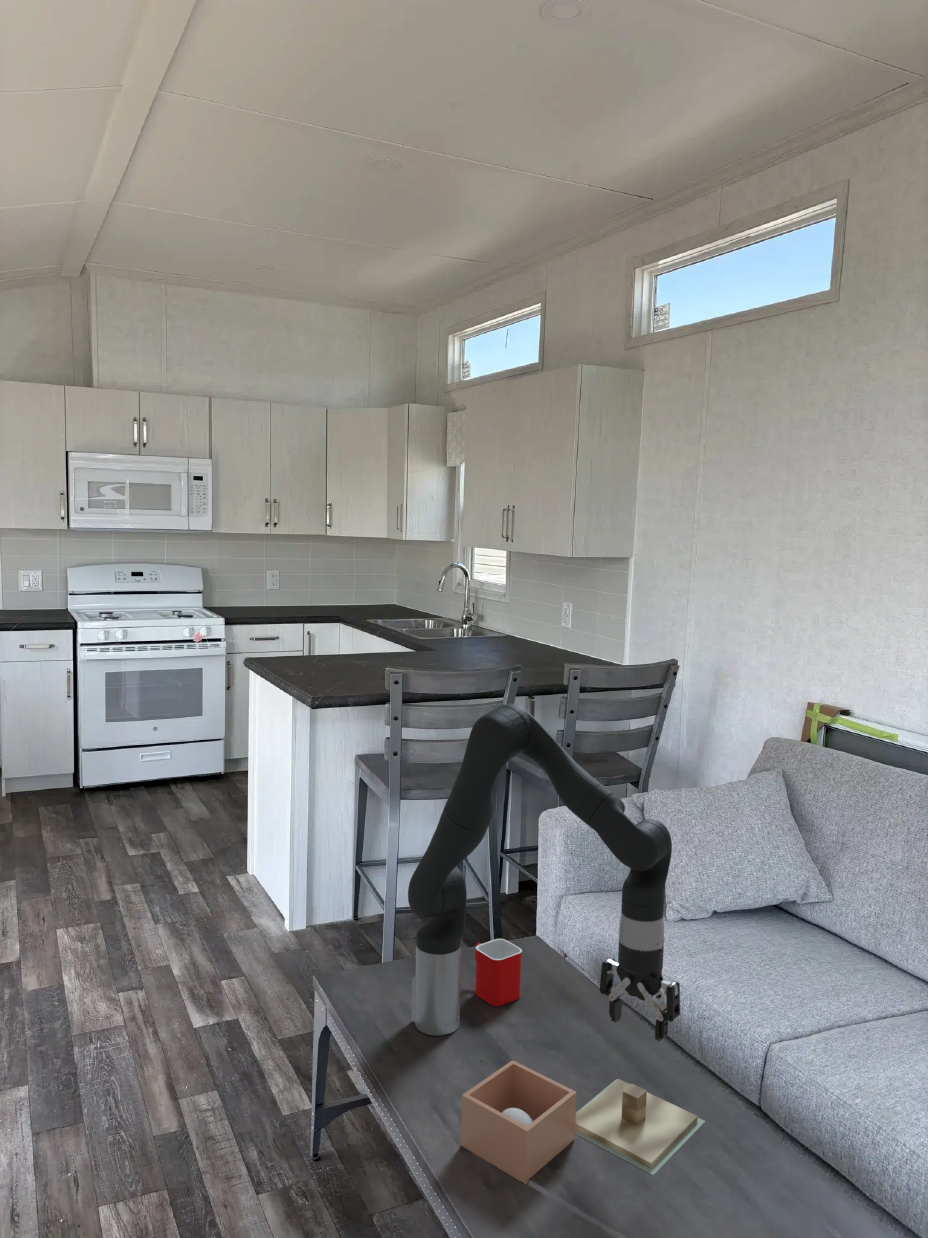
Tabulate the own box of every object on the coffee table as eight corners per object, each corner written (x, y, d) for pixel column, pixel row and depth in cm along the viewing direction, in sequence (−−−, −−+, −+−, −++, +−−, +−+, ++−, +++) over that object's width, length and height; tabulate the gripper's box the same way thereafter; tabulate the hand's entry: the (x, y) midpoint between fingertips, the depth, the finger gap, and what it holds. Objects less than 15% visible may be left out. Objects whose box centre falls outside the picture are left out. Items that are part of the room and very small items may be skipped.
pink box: (461, 1145, 156) (462, 1095, 155) (511, 1107, 167) (512, 1060, 166) (526, 1184, 147) (527, 1131, 146) (574, 1142, 158) (576, 1092, 157)
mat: (560, 1129, 161) (560, 1125, 161) (616, 1082, 175) (616, 1079, 174) (653, 1178, 149) (653, 1175, 149) (705, 1124, 163) (705, 1121, 163)
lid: (568, 1125, 161) (569, 1092, 160) (618, 1084, 173) (619, 1053, 172) (650, 1169, 151) (652, 1134, 150) (697, 1121, 163) (698, 1089, 162)
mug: (524, 997, 205) (525, 951, 203) (495, 1009, 200) (496, 961, 198) (489, 975, 214) (490, 931, 213) (461, 986, 209) (461, 940, 208)
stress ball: (537, 1172, 155) (557, 1134, 156) (505, 1160, 151) (526, 1122, 152) (512, 1143, 162) (532, 1108, 163) (481, 1132, 158) (501, 1095, 159)
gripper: (593, 933, 160) (590, 1023, 162) (668, 960, 151) (664, 1055, 153) (616, 919, 166) (613, 1006, 167) (690, 944, 157) (686, 1036, 158)
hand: (637, 1029), depth 160 cm, fingers open, 8 cm apart
